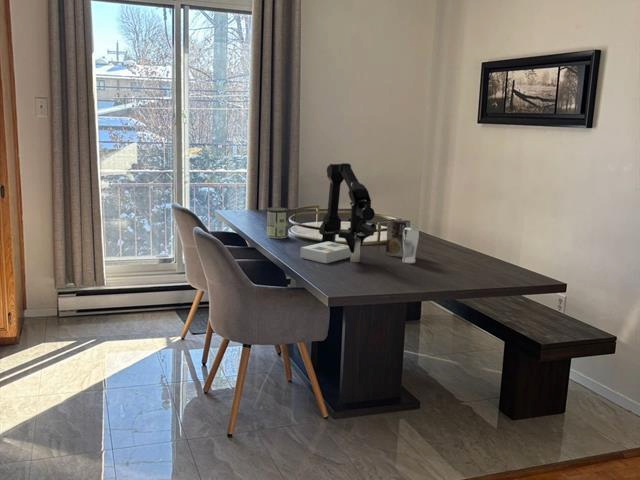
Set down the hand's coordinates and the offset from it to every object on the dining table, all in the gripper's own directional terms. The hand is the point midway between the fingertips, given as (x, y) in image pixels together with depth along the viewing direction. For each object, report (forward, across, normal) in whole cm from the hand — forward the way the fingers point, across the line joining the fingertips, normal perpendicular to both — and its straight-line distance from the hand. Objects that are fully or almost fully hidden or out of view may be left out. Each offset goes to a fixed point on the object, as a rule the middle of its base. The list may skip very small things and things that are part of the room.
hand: (355, 252), depth 285 cm
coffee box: (+4, +25, -6) cm, 26 cm away
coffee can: (+4, +13, +57) cm, 59 cm away
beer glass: (+4, +17, -17) cm, 24 cm away
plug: (+4, 0, 0) cm, 4 cm away
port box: (+4, -3, +13) cm, 14 cm away
